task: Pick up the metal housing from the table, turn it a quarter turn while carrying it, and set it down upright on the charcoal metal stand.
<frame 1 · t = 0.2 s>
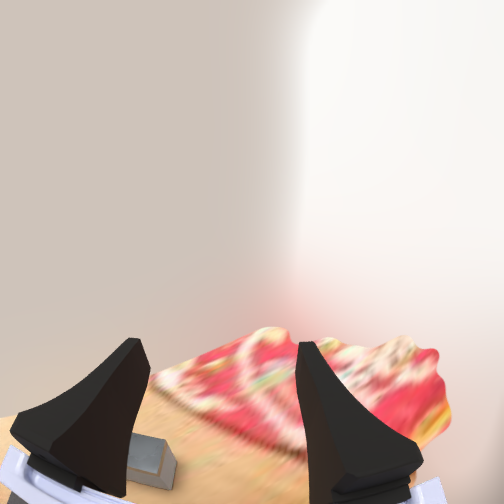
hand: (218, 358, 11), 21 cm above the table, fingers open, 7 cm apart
housing: (143, 469, 20), on the table
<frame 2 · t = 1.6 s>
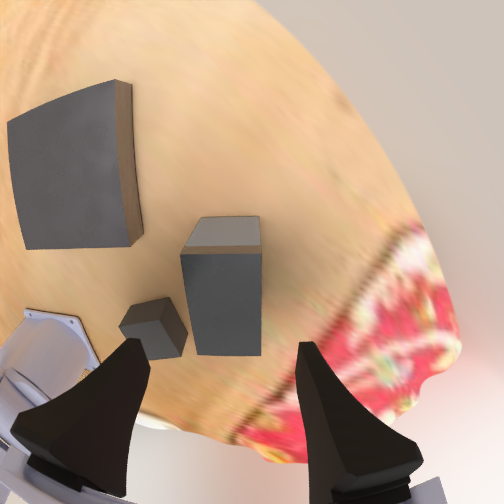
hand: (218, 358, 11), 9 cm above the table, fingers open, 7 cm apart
stand: (74, 169, 17), on the table
rubber block: (159, 319, 23), on the table
housing: (232, 262, 20), on the table
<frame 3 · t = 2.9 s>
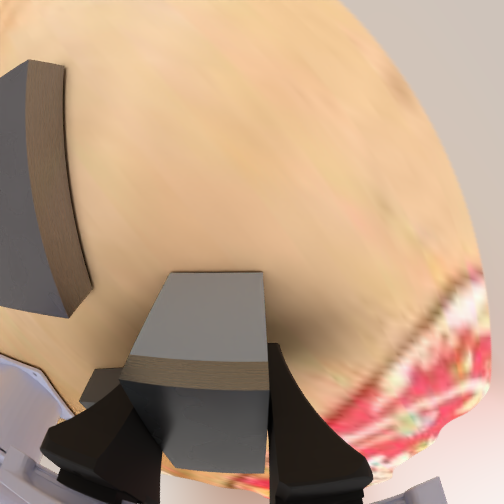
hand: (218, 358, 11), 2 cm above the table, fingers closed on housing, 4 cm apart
stand: (3, 196, 10), on the table
rubber block: (131, 387, 16), on the table
housing: (221, 334, 13), on the table, touching gripper
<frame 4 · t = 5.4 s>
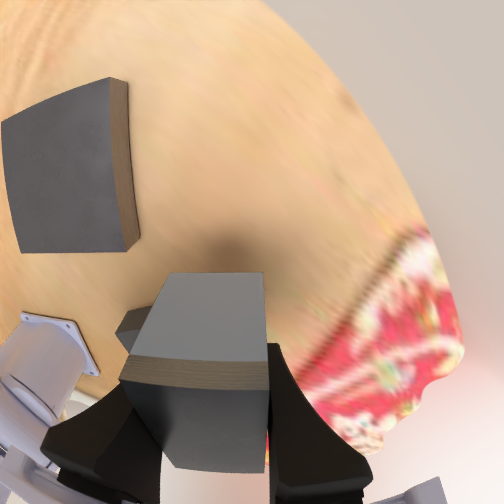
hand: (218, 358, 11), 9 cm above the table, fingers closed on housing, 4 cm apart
stand: (68, 171, 16), on the table
rubber block: (157, 325, 22), on the table
housing: (221, 334, 13), point 7 cm above the table, touching gripper
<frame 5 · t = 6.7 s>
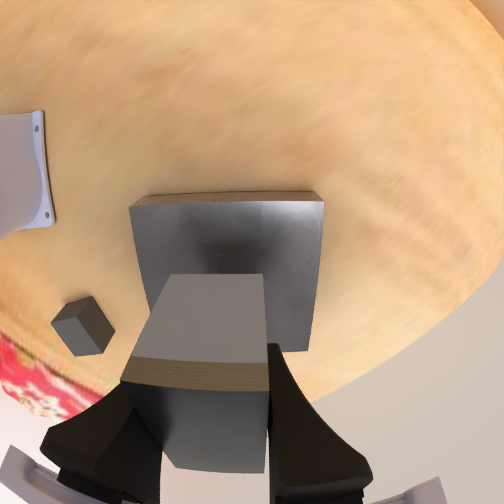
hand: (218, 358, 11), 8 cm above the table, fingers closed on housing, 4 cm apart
stand: (230, 270, 19), on the table
rubber block: (89, 318, 21), on the table
housing: (221, 335, 13), point 7 cm above the table, touching gripper
when the fingers open (6 cm above the table, at t = 7.9 s): housing drops 1 cm, resting on stand.
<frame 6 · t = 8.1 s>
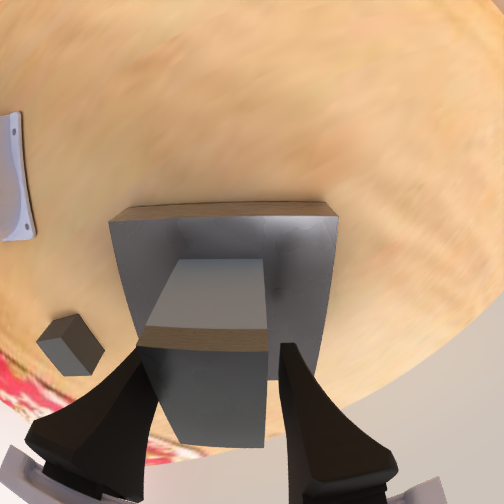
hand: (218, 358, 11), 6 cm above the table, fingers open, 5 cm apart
stand: (227, 291, 17), on the table
rubber block: (77, 335, 19), on the table
housing: (224, 317, 14), point 2 cm above the table, touching stand
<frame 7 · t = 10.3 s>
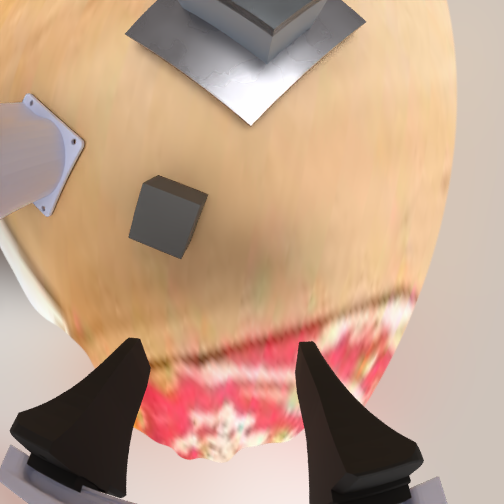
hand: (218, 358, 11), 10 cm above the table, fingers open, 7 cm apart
stand: (245, 26, 14), on the table
rubber block: (174, 209, 20), on the table
housing: (245, 12, 11), point 2 cm above the table, touching stand
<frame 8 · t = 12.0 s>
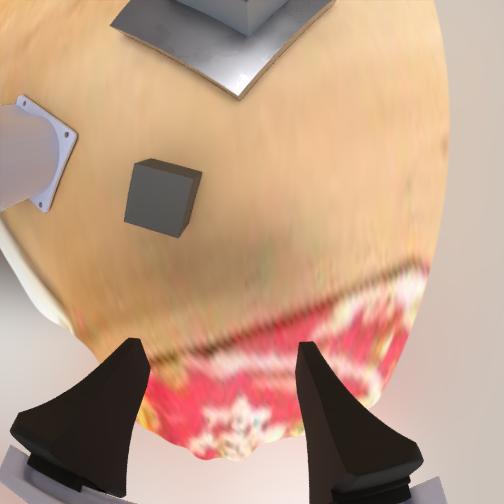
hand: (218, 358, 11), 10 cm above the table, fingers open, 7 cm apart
stand: (226, 7, 13), on the table
rubber block: (169, 191, 19), on the table
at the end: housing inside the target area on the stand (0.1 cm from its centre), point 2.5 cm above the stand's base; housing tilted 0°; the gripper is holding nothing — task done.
